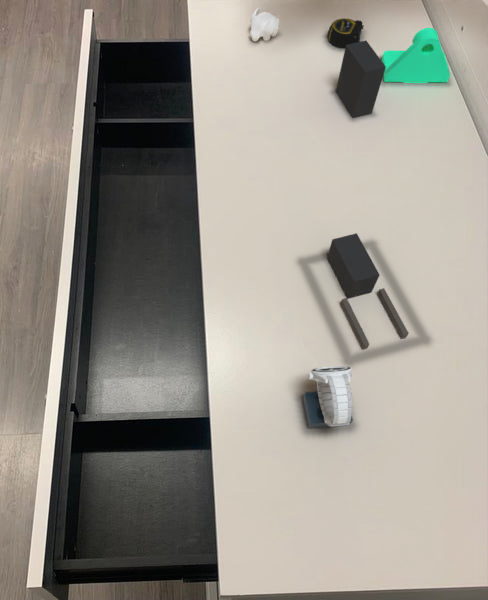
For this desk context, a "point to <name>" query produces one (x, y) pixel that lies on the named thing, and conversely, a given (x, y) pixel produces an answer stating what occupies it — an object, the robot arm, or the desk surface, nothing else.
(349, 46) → the block
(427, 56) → the camera mount
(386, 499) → the desk surface
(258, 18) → the elephant figurine
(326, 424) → the watch
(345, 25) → the tape measure
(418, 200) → the desk surface
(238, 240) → the desk surface
